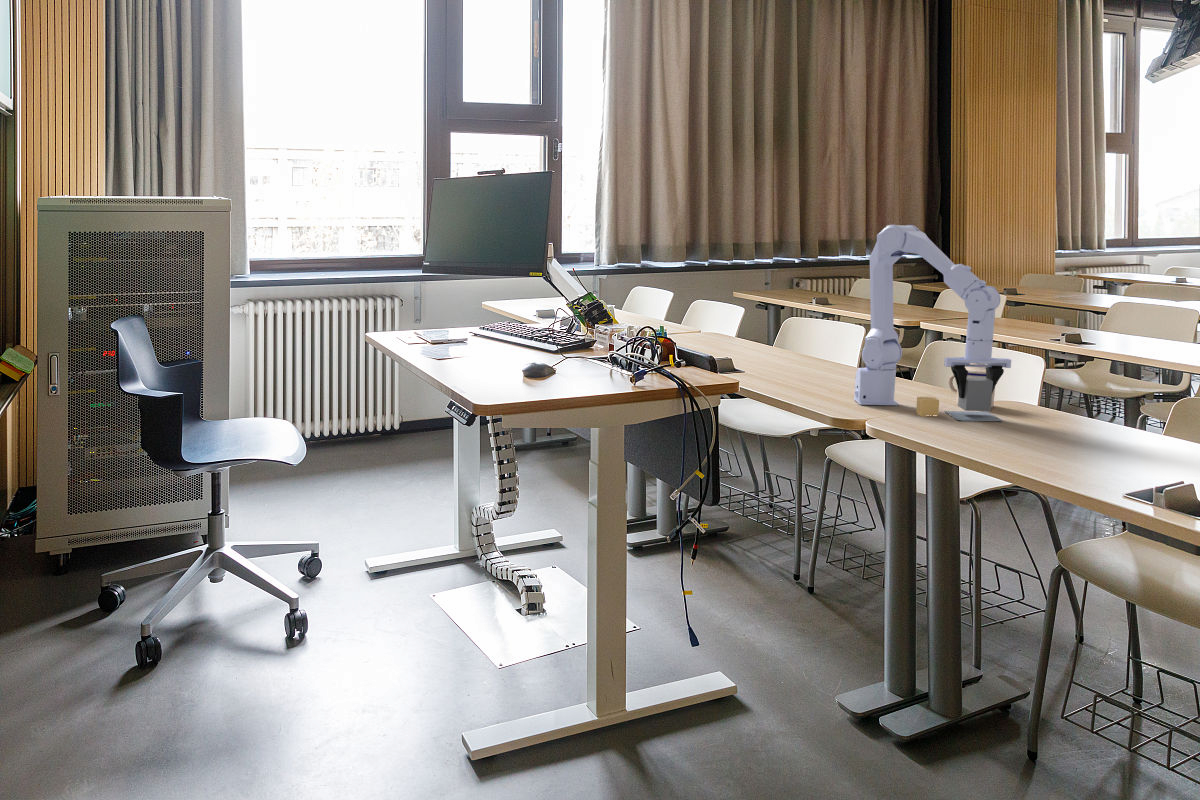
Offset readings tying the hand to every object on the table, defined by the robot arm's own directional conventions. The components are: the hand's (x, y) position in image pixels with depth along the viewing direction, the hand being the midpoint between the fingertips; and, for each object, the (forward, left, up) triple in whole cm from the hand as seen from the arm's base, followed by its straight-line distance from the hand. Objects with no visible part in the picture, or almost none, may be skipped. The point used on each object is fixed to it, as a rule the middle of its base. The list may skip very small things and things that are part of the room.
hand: (974, 397), depth 219 cm
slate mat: (0, 0, -5) cm, 5 cm away
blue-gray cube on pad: (0, 0, -2) cm, 3 cm away
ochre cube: (-10, +2, -5) cm, 11 cm away
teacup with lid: (+4, +16, -5) cm, 17 cm away
